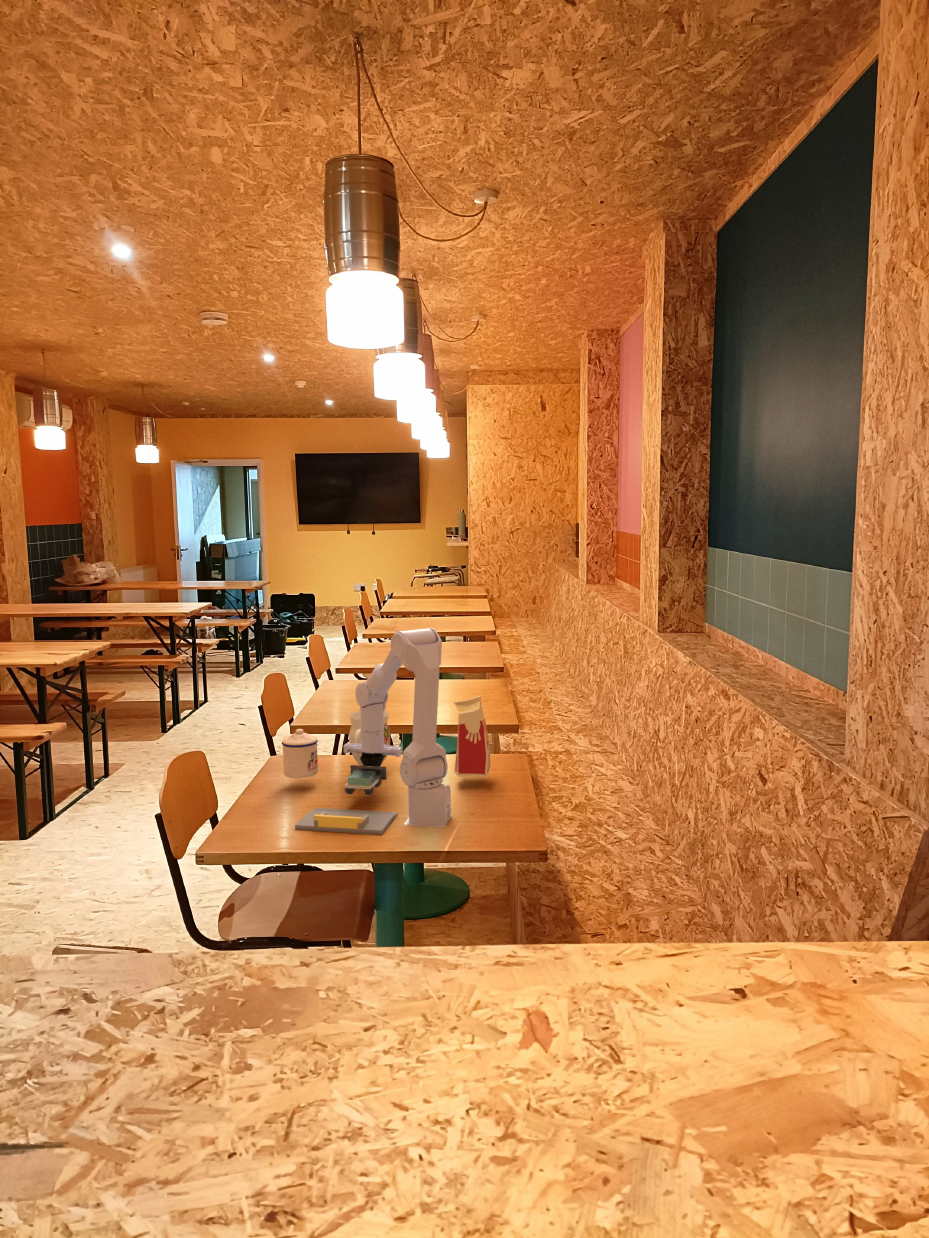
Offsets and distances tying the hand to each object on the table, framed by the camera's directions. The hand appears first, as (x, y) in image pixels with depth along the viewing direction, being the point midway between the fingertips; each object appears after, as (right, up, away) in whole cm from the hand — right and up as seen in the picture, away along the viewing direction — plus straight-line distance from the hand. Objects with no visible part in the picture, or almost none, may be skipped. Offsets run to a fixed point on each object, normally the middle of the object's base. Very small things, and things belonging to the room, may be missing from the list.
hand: (372, 781), depth 201 cm
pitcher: (-3, +2, +13) cm, 14 cm away
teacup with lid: (-19, +1, +7) cm, 21 cm away
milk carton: (+25, +1, +5) cm, 26 cm away
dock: (-3, -5, -19) cm, 20 cm away
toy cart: (-1, 0, -8) cm, 8 cm away
